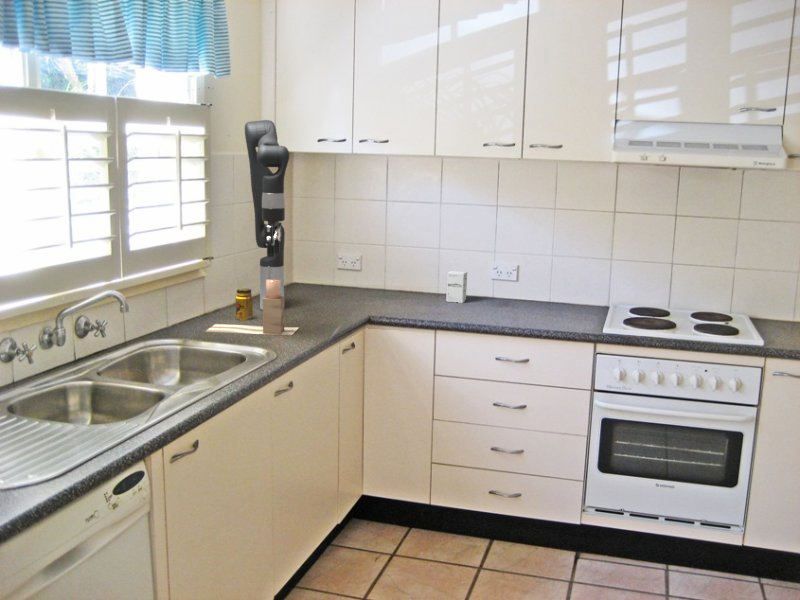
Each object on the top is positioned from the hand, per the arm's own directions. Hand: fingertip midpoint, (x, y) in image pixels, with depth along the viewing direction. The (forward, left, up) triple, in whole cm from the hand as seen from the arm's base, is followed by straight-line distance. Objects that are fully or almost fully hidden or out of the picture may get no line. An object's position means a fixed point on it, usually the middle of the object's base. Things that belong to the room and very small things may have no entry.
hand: (273, 254), depth 284 cm
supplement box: (-76, +61, -28) cm, 101 cm away
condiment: (-20, -15, -28) cm, 38 cm away
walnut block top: (0, 0, -21) cm, 21 cm away
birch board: (-2, -8, -28) cm, 29 cm away
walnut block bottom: (0, 0, -27) cm, 27 cm away
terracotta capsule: (0, 0, -15) cm, 15 cm away
